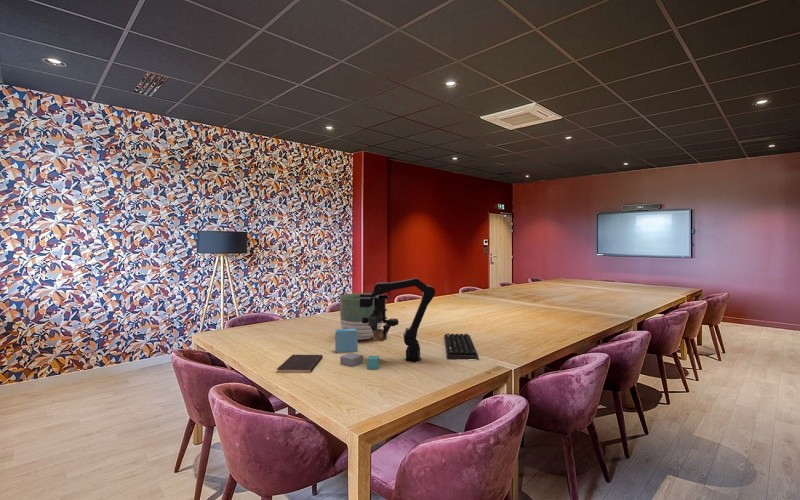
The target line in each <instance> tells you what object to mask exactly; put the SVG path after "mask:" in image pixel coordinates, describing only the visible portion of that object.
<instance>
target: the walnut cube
mask: <svg viewBox="0 0 800 500" xmlns="http://www.w3.org/2000/svg"><path fill="white" fill-rule="evenodd" d="M387 338H388V336H386V338H385V339H384V328H380V329H376V330H374V331H373V337H372V339H373V341H374V342H375V341H376V342H384V341H387V340H388V339H387Z"/></svg>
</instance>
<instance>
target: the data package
mask: <svg viewBox="0 0 800 500" xmlns="http://www.w3.org/2000/svg"><path fill="white" fill-rule="evenodd" d="M334 333H335V335H334V339H335V347H334V348H335V351H336V353H337V354H338V353H339V354H341V353H355V352H357V351H358V348H359V347H358V341H359V340H358V333H357V330H356V329H342V328H339V329H335V332H334Z"/></svg>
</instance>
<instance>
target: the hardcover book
mask: <svg viewBox="0 0 800 500" xmlns="http://www.w3.org/2000/svg"><path fill="white" fill-rule="evenodd" d="M323 357H324V356H323V355H322V354H292V355H290V356H289V357H288V358H287V359H285V361H284V362H283V363H282V364H280V365H279V366H278V367H277V368H276V370H277V373H291V374H292V373H298V374H299V373H303V374H304V373H305V374H307V373H309V374H310V373H313V371H314V370H315V368H316V367H317V366H318V364H319V363H320V362H321V361H322V359H323Z"/></svg>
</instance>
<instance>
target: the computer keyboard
mask: <svg viewBox="0 0 800 500" xmlns="http://www.w3.org/2000/svg"><path fill="white" fill-rule="evenodd" d="M470 335H471V334H468V333H445V334H444V335H443V339H444V347H445V353H446V360H456V359H478V360H479V354H478V352H477V350H476V347H475V345H474V342H473V340H472V338H471V336H470Z"/></svg>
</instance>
